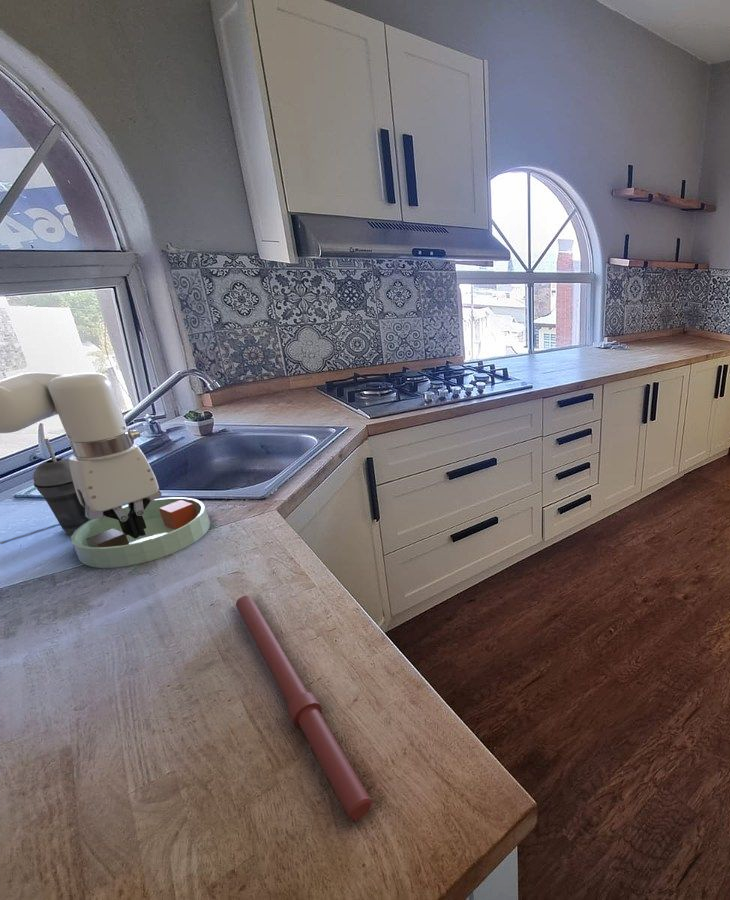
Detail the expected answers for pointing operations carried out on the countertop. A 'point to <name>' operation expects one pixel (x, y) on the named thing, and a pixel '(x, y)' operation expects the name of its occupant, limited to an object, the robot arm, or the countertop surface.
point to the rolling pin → (307, 714)
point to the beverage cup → (60, 492)
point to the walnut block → (108, 539)
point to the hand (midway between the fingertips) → (136, 534)
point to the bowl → (140, 537)
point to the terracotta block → (177, 514)
